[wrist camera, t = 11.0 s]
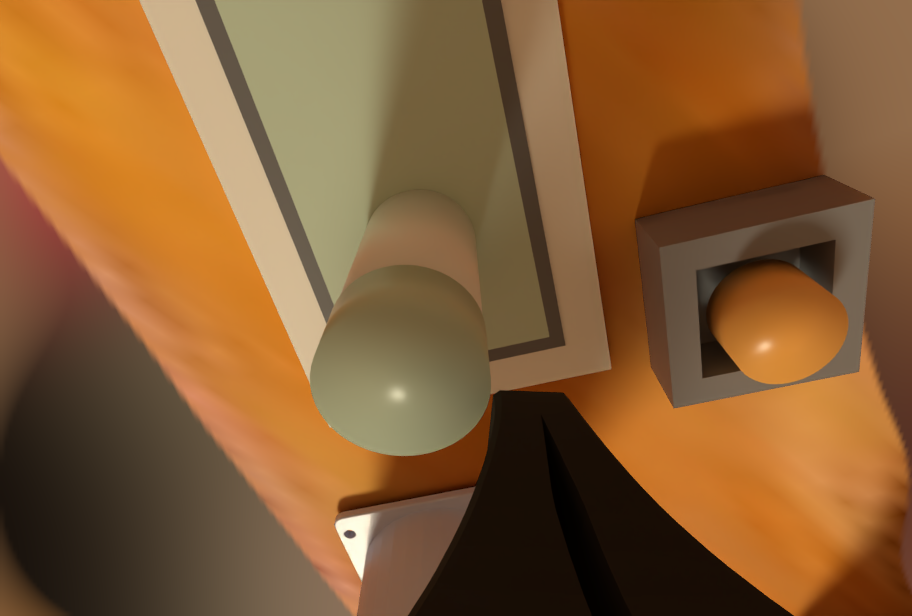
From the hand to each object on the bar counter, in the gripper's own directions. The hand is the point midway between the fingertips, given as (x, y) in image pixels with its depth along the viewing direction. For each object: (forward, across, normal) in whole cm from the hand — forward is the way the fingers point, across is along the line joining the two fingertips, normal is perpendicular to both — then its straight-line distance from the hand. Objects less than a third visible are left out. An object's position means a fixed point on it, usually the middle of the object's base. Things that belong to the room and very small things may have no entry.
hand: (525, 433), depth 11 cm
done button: (+7, -8, +1) cm, 11 cm away
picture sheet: (+9, +3, -3) cm, 10 cm away
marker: (+9, +2, 0) cm, 9 cm away
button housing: (+9, -8, +1) cm, 13 cm away
